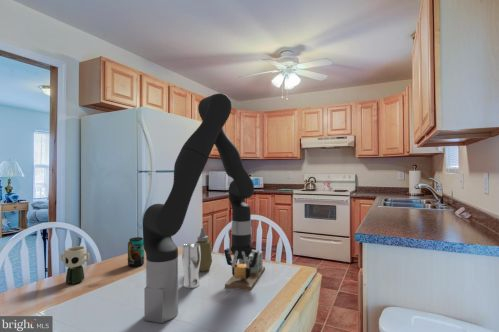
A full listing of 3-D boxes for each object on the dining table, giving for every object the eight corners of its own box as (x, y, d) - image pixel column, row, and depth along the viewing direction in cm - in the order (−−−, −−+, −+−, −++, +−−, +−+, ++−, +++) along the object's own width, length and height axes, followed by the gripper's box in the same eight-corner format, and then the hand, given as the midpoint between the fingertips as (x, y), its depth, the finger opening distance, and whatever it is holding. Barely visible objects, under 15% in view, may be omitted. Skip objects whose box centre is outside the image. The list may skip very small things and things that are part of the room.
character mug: (55, 285, 107) (55, 251, 108) (66, 278, 115) (66, 246, 115) (84, 285, 108) (84, 251, 108) (94, 278, 115) (94, 245, 115)
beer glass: (196, 289, 104) (196, 248, 104) (178, 288, 105) (178, 247, 105) (203, 282, 111) (203, 243, 111) (186, 280, 112) (186, 242, 112)
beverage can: (124, 266, 128) (124, 240, 128) (134, 261, 135) (134, 236, 135) (137, 268, 126) (137, 241, 126) (147, 263, 133) (147, 237, 133)
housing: (250, 290, 103) (250, 268, 103) (224, 287, 106) (224, 265, 106) (265, 269, 124) (265, 251, 124) (243, 267, 127) (243, 249, 127)
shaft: (245, 278, 106) (245, 268, 106) (234, 277, 107) (234, 266, 107) (260, 260, 127) (260, 251, 127) (250, 259, 128) (250, 250, 128)
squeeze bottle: (210, 273, 120) (210, 230, 120) (191, 273, 120) (191, 230, 120) (213, 266, 128) (213, 226, 128) (195, 266, 128) (195, 226, 128)
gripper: (220, 233, 107) (220, 278, 107) (257, 235, 103) (257, 282, 103) (227, 228, 114) (227, 271, 114) (262, 230, 110) (262, 275, 110)
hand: (241, 276), depth 108 cm, fingers closed on shaft, 4 cm apart
